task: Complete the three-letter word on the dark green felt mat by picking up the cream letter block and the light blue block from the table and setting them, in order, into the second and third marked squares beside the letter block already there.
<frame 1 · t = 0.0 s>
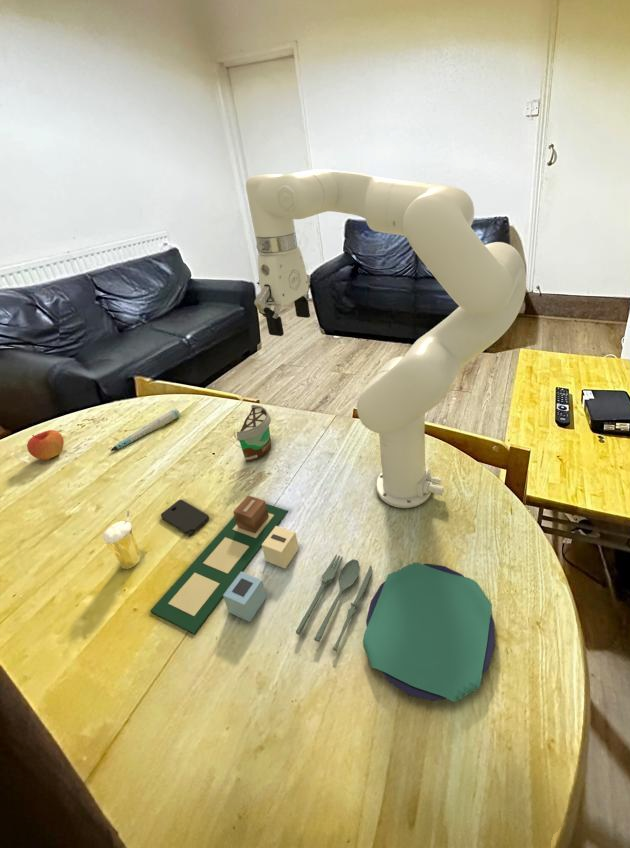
hand: (290, 325, 86), 37 cm above the table, tool pointing down, fingers open, 9 cm apart
apple: (52, 456, 109), on the table
word mat: (227, 556, 79), on the table
letter block 2: (282, 554, 78), on the table
black smartphone: (185, 518, 88), on the table
light blue block 3: (247, 604, 70), on the table
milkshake: (133, 560, 80), on the table
cutlery set: (399, 619, 67), on the table
letter block 1: (253, 521, 85), resting on word mat
food container: (263, 449, 107), on the table
pen: (149, 433, 116), on the table
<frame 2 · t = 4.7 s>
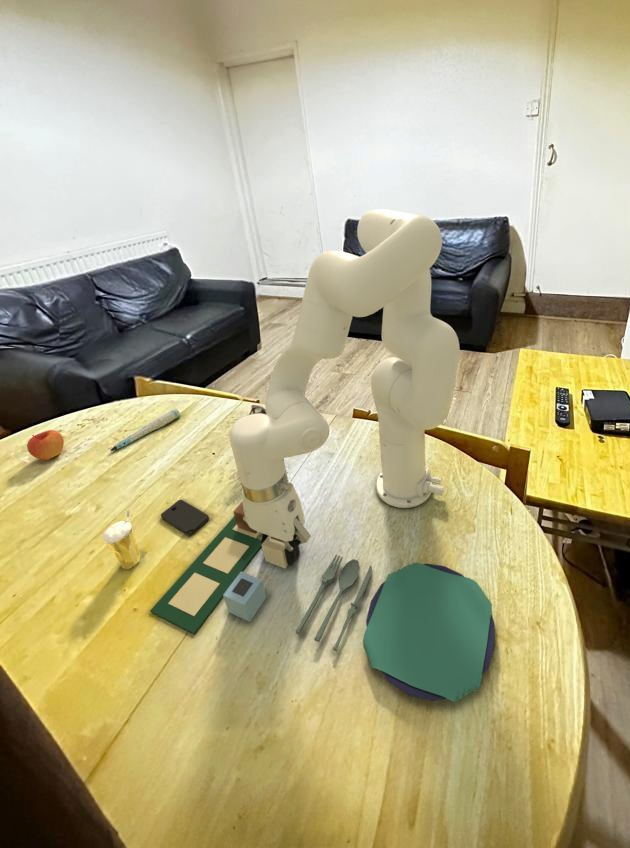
hand: (282, 553, 78), 0 cm above the table, tool pointing down, fingers closed on letter block 2, 4 cm apart
letter block 2: (282, 554, 78), on the table, touching gripper
everything else where it was.
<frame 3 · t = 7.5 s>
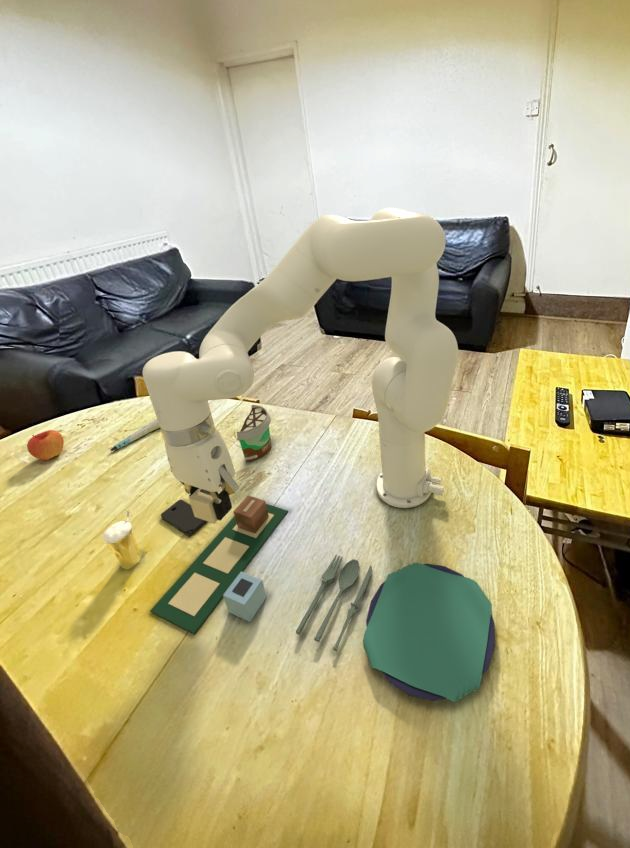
hand: (213, 509, 74), 12 cm above the table, tool pointing down, fingers closed on letter block 2, 4 cm apart
letter block 2: (213, 510, 74), point 12 cm above the table, touching gripper
everything else where it was.
when the fingers open (1 cm above the table, at t = 10.5 s): letter block 2 stays where it is, resting on word mat.
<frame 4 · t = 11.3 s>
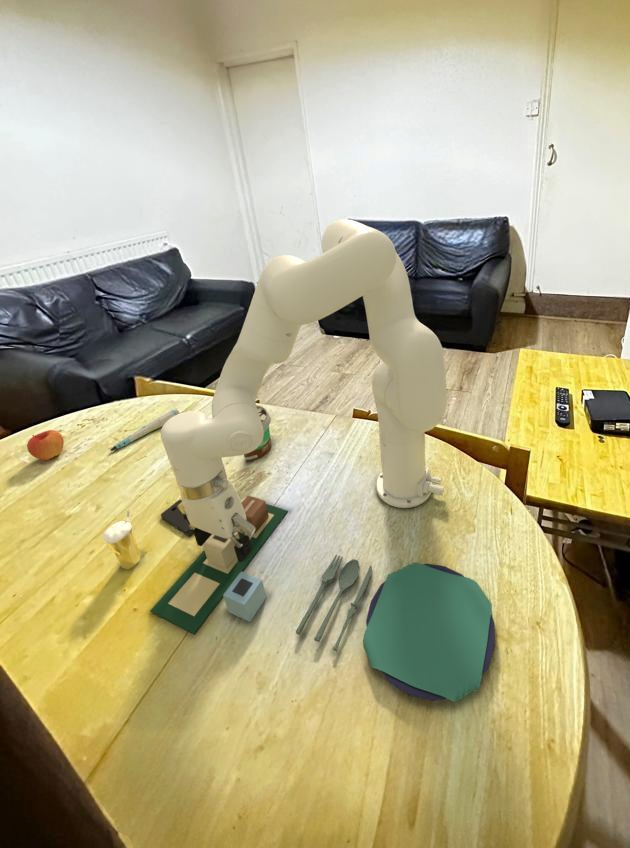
hand: (225, 547, 78), 2 cm above the table, tool pointing down, fingers open, 9 cm apart
letter block 2: (225, 555, 79), resting on word mat
everything else where it was.
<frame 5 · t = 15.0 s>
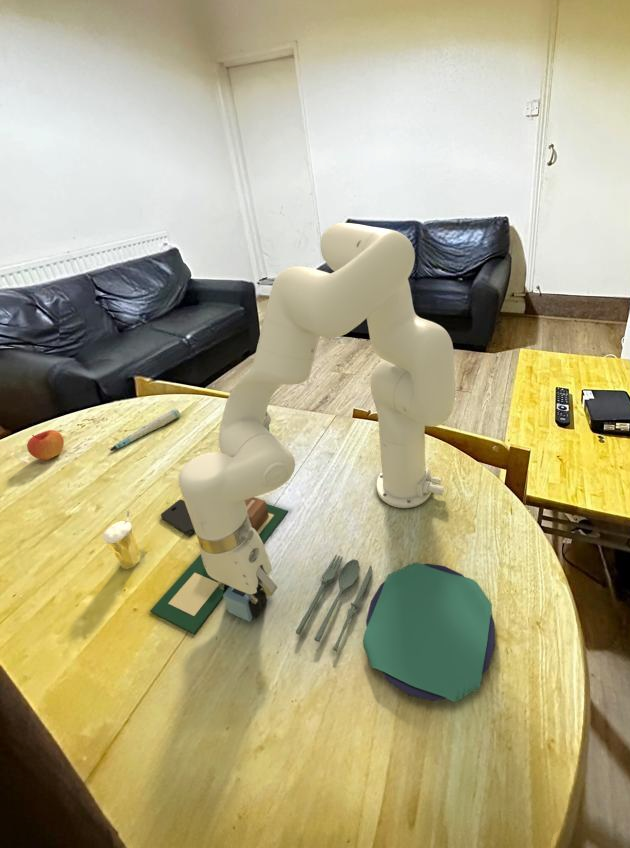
hand: (247, 603, 70), 0 cm above the table, tool pointing down, fingers closed on light blue block 3, 4 cm apart
light blue block 3: (247, 604, 70), on the table, touching gripper
everything else where it was.
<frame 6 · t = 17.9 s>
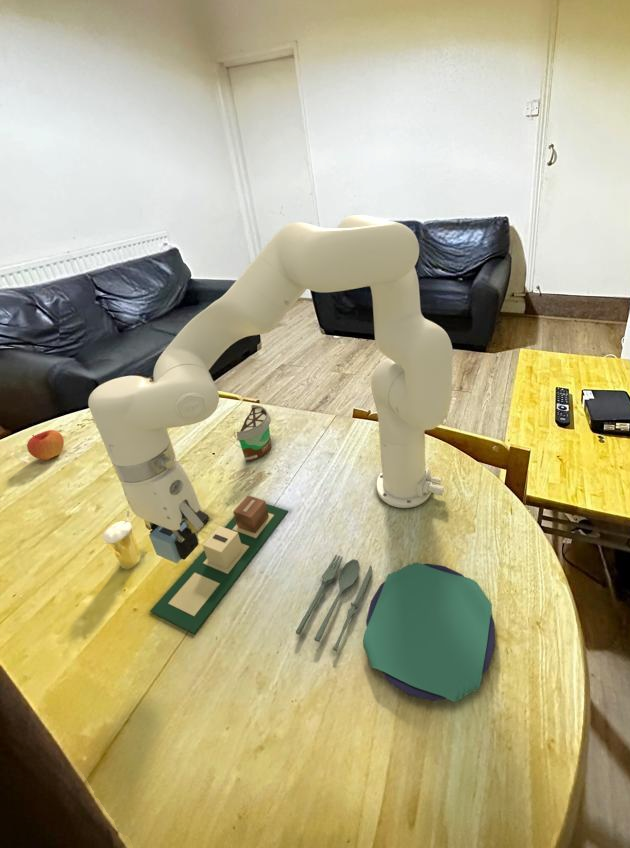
hand: (177, 545, 67), 13 cm above the table, tool pointing down, fingers closed on light blue block 3, 4 cm apart
light blue block 3: (178, 547, 67), point 12 cm above the table, touching gripper
everything else where it was.
when the fingers open (1 cm above the table, at t = 20.9 s): light blue block 3 stays where it is, resting on word mat.
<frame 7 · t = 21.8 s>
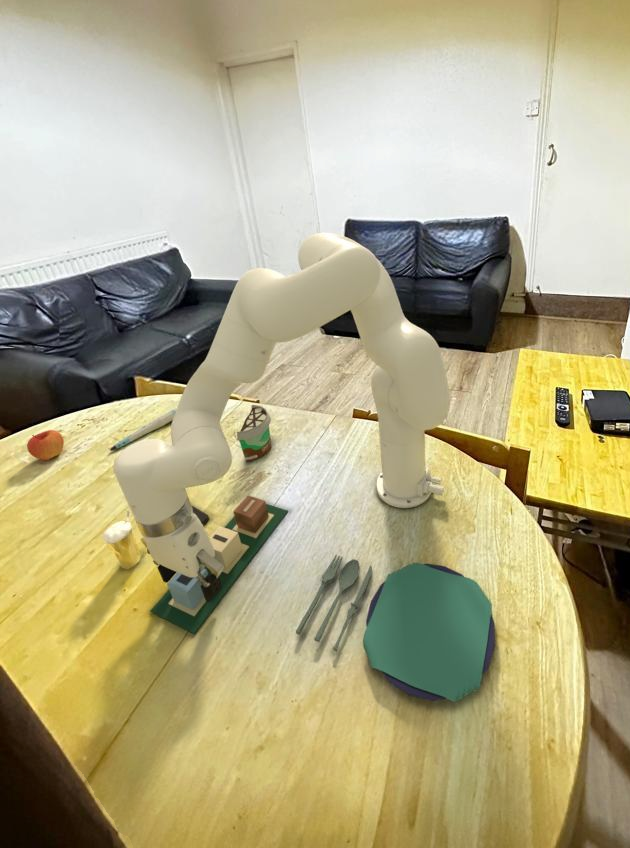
hand: (192, 584, 71), 3 cm above the table, tool pointing down, fingers open, 9 cm apart
light blue block 3: (193, 593, 72), resting on word mat
everything else where it was.
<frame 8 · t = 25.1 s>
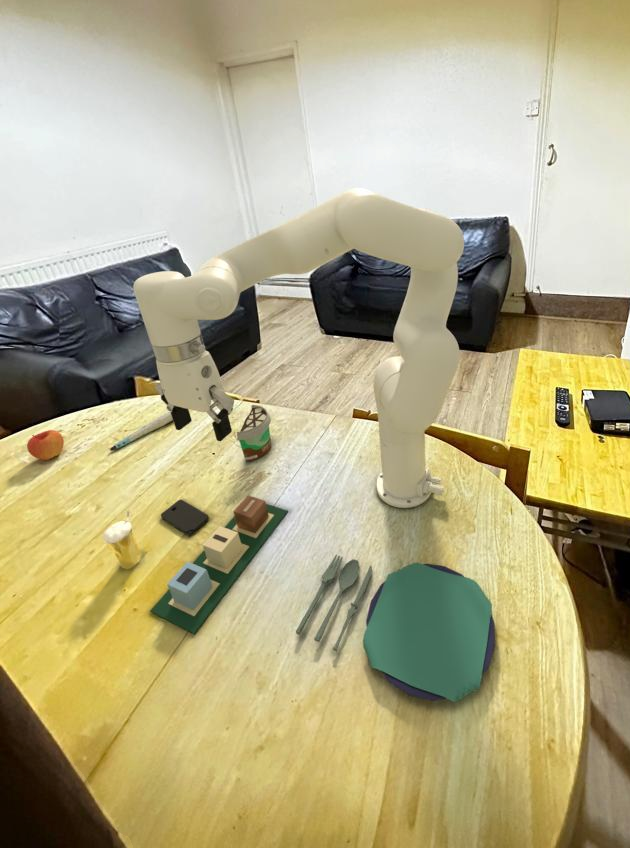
hand: (204, 430, 75), 24 cm above the table, tool pointing down, fingers open, 9 cm apart
nothing on the table moved.
at the end: letter block 2 0.1 cm from the target spot, point 0.5 cm above the table; light blue block 3 0.1 cm from the target spot, point 0.5 cm above the table; light blue block 3 tilted 0° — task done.
